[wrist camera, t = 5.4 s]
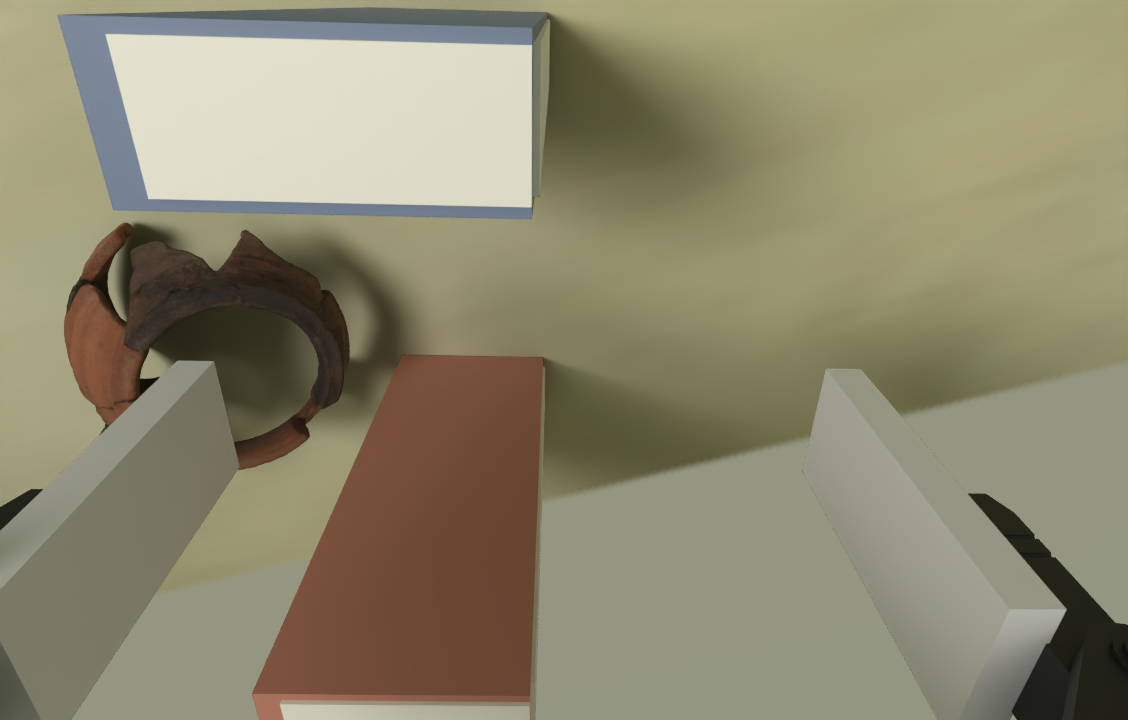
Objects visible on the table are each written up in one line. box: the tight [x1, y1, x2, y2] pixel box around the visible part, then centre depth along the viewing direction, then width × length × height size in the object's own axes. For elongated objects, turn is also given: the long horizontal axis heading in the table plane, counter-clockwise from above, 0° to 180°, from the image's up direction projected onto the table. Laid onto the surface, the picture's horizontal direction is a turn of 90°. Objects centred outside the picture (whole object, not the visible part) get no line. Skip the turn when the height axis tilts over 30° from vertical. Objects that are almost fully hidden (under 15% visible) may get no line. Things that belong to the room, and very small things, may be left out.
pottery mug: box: [64, 223, 350, 470], centre depth 26 cm, size 12×9×8 cm
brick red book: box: [252, 355, 545, 720], centre depth 22 cm, size 6×2×16 cm, turn 89°
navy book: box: [57, 8, 550, 219], centre depth 16 cm, size 6×2×16 cm, turn 89°
